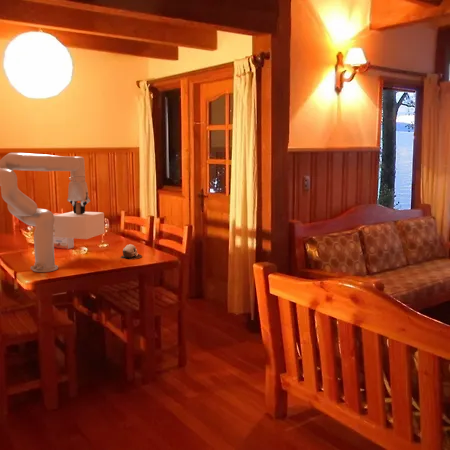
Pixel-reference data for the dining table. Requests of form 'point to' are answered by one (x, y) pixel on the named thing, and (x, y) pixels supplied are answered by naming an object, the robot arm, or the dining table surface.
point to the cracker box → (62, 241)
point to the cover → (79, 224)
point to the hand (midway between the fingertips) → (79, 212)
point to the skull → (130, 252)
